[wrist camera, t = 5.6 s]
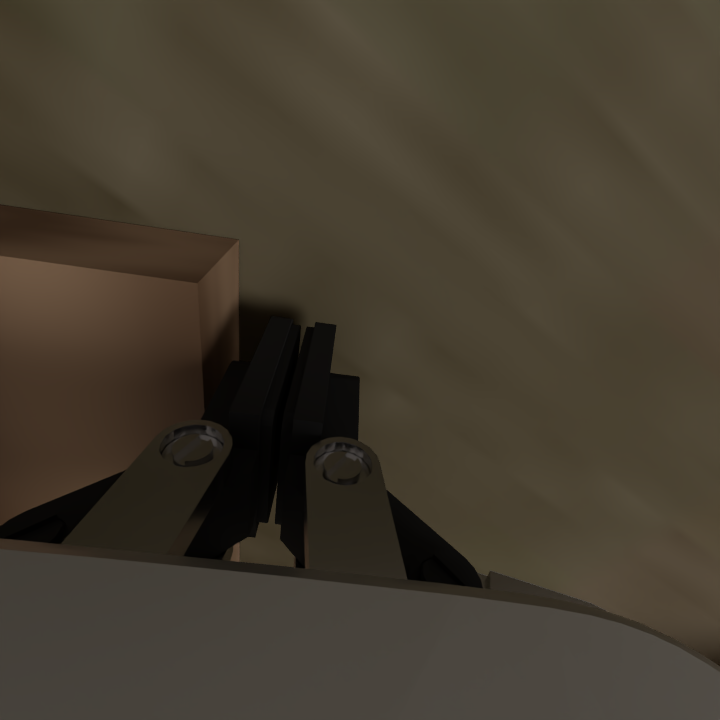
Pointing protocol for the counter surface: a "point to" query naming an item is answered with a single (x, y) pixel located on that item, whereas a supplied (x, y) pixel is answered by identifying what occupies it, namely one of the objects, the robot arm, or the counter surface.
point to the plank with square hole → (103, 345)
